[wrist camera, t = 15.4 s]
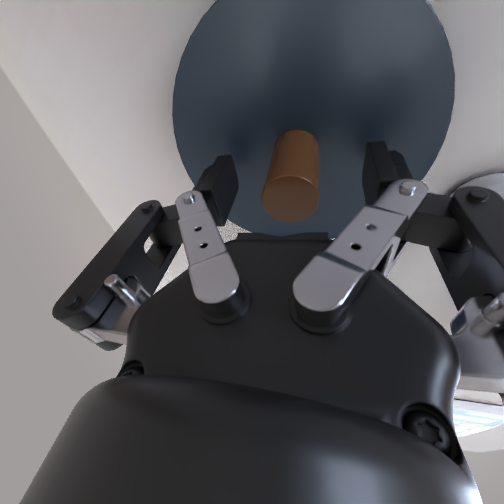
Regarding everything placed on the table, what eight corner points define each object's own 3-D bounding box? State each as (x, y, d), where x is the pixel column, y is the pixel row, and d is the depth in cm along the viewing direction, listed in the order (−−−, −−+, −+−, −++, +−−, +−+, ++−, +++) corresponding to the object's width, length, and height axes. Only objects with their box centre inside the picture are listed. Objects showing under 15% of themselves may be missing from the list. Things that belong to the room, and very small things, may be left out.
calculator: (394, 416, 57) (396, 425, 56) (422, 393, 42) (425, 406, 41) (462, 427, 53) (465, 438, 52) (518, 407, 39) (524, 421, 38)
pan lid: (131, 3, 11) (39, 18, 8) (523, -109, 8) (711, -185, 4) (217, 232, 22) (196, 285, 18) (401, 232, 18) (422, 298, 14)
